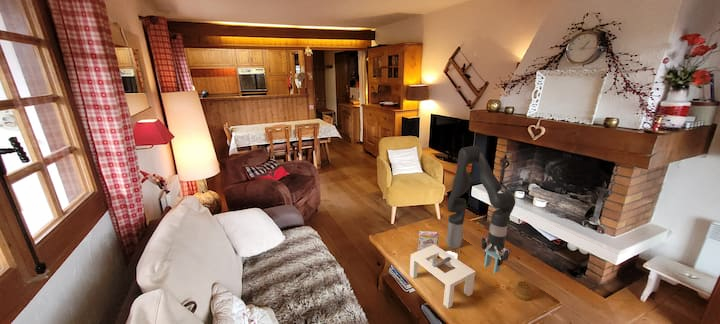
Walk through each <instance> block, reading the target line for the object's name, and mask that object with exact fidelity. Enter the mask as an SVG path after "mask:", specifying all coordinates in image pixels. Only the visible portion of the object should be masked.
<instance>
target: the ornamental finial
mask: <svg viewBox="0 0 720 324" xmlns="http://www.w3.org/2000/svg"><path fill="white" fill-rule="evenodd" d="M513 290H514V291H513V292H514V295H515V297H517V298H518V299H520V300H522V301H528V300H530V299H531V297H532V295H531V285H530V283H528V282H527V281H525V280H520V281H518V282H517V284H516V287H515V288H514V289H513Z"/></svg>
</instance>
